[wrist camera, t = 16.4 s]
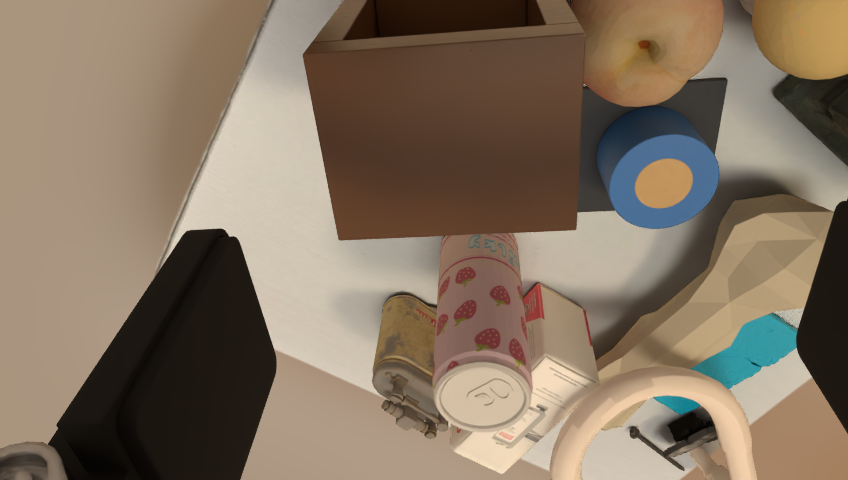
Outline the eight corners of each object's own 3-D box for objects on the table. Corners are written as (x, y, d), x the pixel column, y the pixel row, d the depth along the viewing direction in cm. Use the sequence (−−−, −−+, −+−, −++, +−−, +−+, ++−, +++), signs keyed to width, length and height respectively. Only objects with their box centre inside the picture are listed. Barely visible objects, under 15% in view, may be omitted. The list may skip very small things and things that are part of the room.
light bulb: (801, -109, 33) (913, -90, 25) (848, -11, 36) (965, 36, 27) (690, -26, 36) (758, 16, 27) (741, 60, 38) (818, 123, 30)
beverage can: (531, 234, 46) (555, 385, 33) (494, 289, 49) (503, 448, 36) (461, 204, 45) (458, 348, 32) (428, 262, 48) (413, 415, 35)
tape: (599, 109, 40) (613, 138, 36) (703, 102, 39) (728, 131, 36) (593, 196, 43) (605, 231, 40) (689, 192, 43) (710, 227, 39)
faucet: (571, 548, 58) (482, 372, 46) (709, 463, 59) (658, 270, 47) (624, 636, 50) (535, 451, 39) (781, 536, 52) (742, 328, 40)
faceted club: (866, 219, 42) (619, 415, 56) (764, 144, 42) (541, 358, 56) (910, 282, 35) (612, 492, 48) (786, 191, 35) (523, 426, 48)
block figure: (666, 432, 58) (721, 405, 56) (680, 456, 57) (736, 430, 55) (643, 431, 54) (701, 401, 52) (657, 457, 53) (717, 428, 50)
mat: (578, 87, 40) (579, 89, 39) (725, 77, 39) (728, 79, 38) (572, 209, 45) (573, 212, 44) (703, 203, 44) (705, 206, 43)
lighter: (374, 311, 51) (355, 406, 42) (402, 283, 49) (389, 376, 40) (442, 355, 53) (437, 453, 44) (472, 329, 51) (472, 427, 43)
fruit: (528, 17, 38) (540, 56, 31) (634, -97, 34) (675, -81, 27) (615, 102, 40) (645, 155, 33) (723, 4, 37) (780, 42, 30)
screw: (638, 433, 55) (634, 424, 56) (628, 438, 56) (626, 429, 56) (690, 472, 58) (686, 463, 59) (681, 477, 59) (677, 468, 59)
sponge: (696, 417, 55) (643, 386, 54) (806, 330, 49) (748, 294, 48) (701, 430, 54) (646, 399, 53) (814, 342, 48) (755, 305, 47)
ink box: (586, 307, 49) (500, 394, 55) (535, 278, 48) (453, 370, 54) (603, 387, 42) (502, 478, 48) (544, 355, 41) (447, 452, 47)
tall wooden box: (367, -31, 37) (301, 54, 22) (539, -46, 36) (586, 33, 21) (384, 100, 41) (338, 240, 27) (538, 89, 40) (576, 230, 26)
